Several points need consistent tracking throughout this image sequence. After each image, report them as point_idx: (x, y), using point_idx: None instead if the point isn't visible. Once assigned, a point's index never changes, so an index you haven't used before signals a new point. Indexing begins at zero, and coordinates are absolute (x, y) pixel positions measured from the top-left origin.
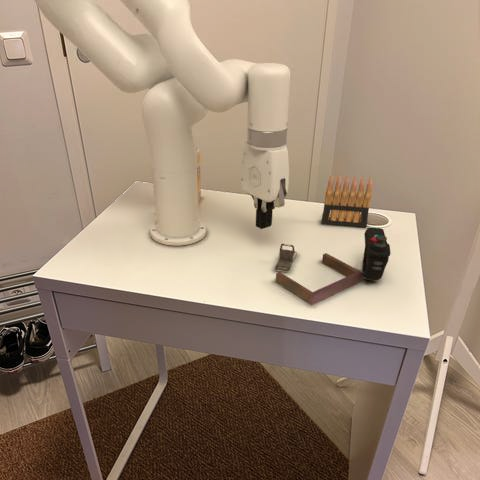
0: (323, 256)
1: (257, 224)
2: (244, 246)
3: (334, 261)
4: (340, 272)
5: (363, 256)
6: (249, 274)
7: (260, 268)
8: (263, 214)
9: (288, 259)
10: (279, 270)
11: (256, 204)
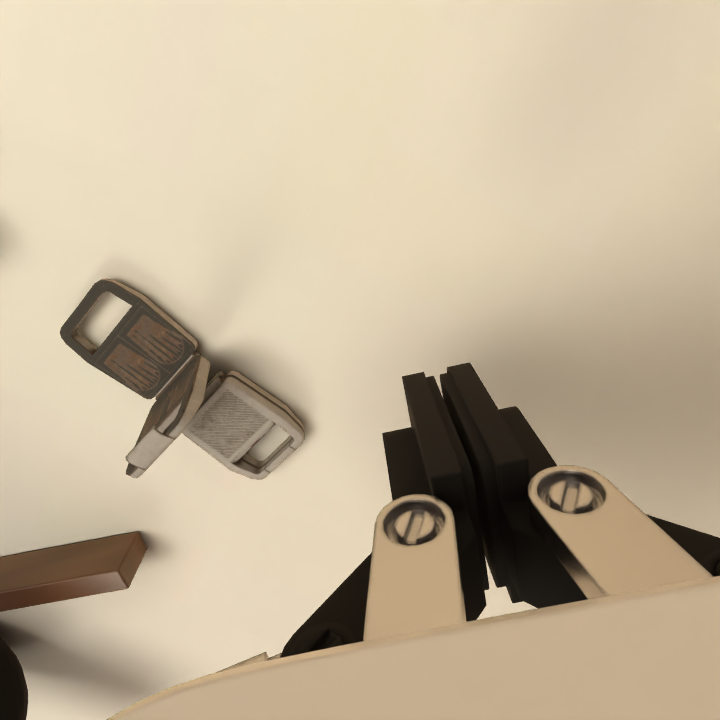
0: (117, 563)
1: (453, 378)
2: (493, 244)
3: (36, 581)
4: (15, 555)
5: (12, 699)
6: (103, 80)
7: (167, 201)
8: (428, 482)
9: (161, 397)
10: (87, 296)
11: (576, 510)
